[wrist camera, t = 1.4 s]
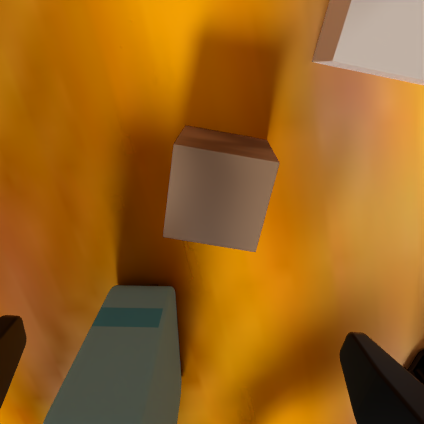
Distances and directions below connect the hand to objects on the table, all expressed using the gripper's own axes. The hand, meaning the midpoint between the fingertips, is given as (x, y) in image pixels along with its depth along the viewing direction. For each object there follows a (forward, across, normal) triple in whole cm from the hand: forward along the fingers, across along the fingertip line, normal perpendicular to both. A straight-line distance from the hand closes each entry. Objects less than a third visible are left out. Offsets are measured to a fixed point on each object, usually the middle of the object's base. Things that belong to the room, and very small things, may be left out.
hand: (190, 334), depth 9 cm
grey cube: (+13, -2, 0) cm, 13 cm away
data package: (+13, +2, +15) cm, 20 cm away
